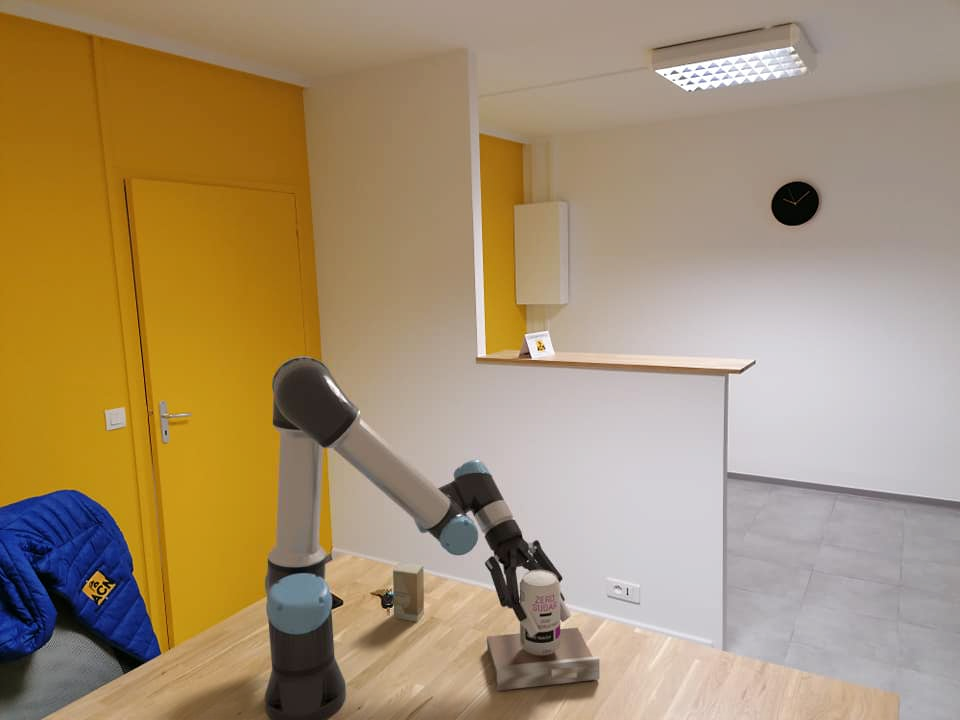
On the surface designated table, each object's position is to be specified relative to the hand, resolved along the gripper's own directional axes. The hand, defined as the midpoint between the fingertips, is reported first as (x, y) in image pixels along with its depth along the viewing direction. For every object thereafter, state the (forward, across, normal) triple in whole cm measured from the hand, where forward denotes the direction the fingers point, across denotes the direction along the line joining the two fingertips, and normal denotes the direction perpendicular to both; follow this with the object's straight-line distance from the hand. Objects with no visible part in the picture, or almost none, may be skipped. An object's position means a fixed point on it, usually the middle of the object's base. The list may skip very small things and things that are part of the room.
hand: (551, 626), depth 140 cm
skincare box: (-19, +10, -34) cm, 40 cm away
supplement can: (+2, 0, -6) cm, 7 cm away
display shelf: (+4, 0, -10) cm, 11 cm away
